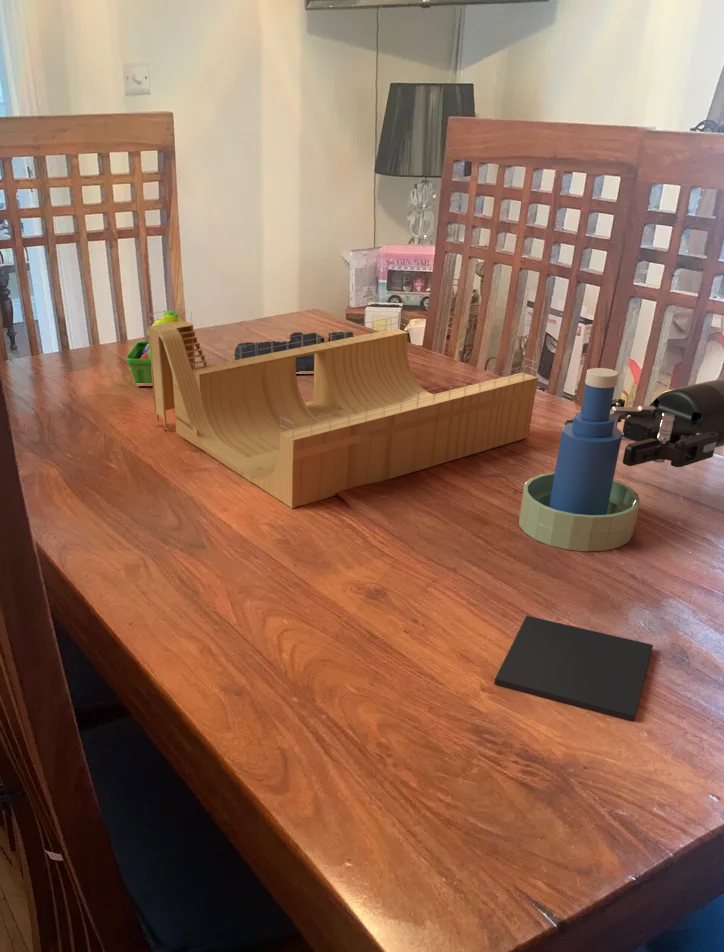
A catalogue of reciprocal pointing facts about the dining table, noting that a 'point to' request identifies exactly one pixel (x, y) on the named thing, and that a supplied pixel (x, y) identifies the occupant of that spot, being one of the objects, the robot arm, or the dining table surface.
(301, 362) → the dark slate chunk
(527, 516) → the bowl
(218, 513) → the dining table surface
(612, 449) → the bottle
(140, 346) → the fruit basket
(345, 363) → the skate ramp
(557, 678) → the mat
